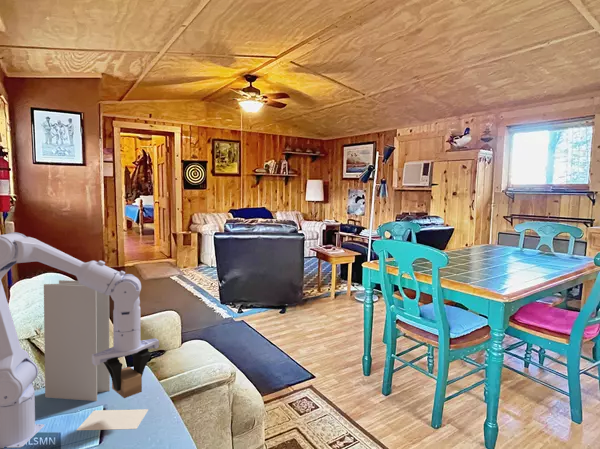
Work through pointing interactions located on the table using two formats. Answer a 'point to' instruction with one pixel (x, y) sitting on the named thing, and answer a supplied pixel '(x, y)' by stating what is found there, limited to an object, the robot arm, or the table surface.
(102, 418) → the beige board
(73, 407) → the table surface
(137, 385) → the walnut block
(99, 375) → the tall grey box
